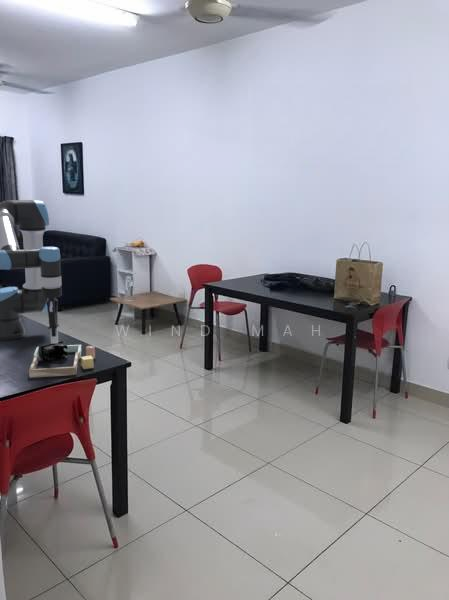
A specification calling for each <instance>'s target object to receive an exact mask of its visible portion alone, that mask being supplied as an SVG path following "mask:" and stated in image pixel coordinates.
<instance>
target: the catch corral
mask: <svg viewBox="0 0 449 600" xmlns="http://www.w3.org/2000/svg"><path fill="white" fill-rule="evenodd" d="M66 345H67V344H66ZM67 347H68V348H67V349H66V348H64V350H65V351H67V352H68V353H78V358H79V360H81V357H82V351H83V350H82V344H69V345H67ZM38 348H39V346H37V347H35V351H34V353H33V358H34V357H35V355H38V358H40V357H39V353H38Z"/></svg>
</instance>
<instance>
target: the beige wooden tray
mask: <svg viewBox="0 0 449 600" xmlns="http://www.w3.org/2000/svg"><path fill="white" fill-rule="evenodd" d="M79 361H80V359H79V358H78V352H75V356H74V360H73V366H62V367H61V366H60V367H47V368H46V367H44V368H37V366H38V364H39V357H38V355H35V357H34V356H33V360H32V362H31V364H30V367H29V369H28V374H29V379H31V378H32V379H33V378H45V377H46V378H47V377H48V378H51V377H62V376H63V377H65V376H75V375H77V373H78V371H77V370H78V366H79Z"/></svg>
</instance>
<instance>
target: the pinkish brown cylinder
mask: <svg viewBox="0 0 449 600" xmlns="http://www.w3.org/2000/svg"><path fill="white" fill-rule="evenodd" d="M95 350H96V346H94V345H87V346H86V347H85V353H86V354H85V356H92V358H93V360H95V359H96V351H95Z"/></svg>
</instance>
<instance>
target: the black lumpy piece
mask: <svg viewBox="0 0 449 600" xmlns="http://www.w3.org/2000/svg"><path fill="white" fill-rule="evenodd" d="M38 347H39V348H38V353H39V357H38V358H40V359H41V360H42V361H43V362H44V363H46V364H52V363H56V362H58V361H63V360H67V359H68V354H69V352H67V351H65V350H64V348H66V349H67V348H68V347H67V344H65V343H64V341H63V340H60V341H59V340H58V343H55V344H51V343H47V344H43V345H39V346H38Z"/></svg>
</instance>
